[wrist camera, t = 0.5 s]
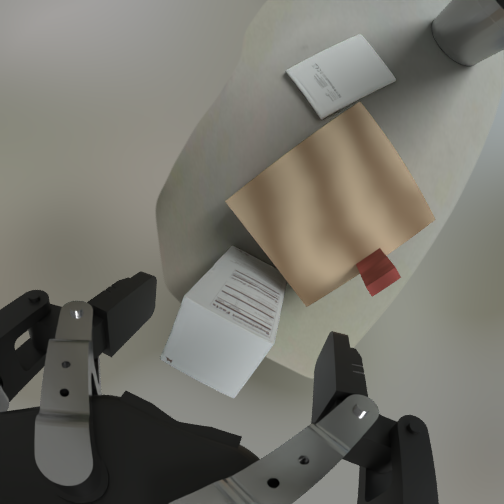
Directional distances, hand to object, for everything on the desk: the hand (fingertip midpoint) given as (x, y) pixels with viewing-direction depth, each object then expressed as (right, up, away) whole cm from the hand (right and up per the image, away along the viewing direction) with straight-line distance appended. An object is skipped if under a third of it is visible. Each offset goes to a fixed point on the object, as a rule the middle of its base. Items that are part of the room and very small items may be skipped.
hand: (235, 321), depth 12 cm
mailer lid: (+10, +8, +16) cm, 21 cm away
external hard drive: (+13, +26, +18) cm, 34 cm away
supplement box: (0, -2, +29) cm, 29 cm away
